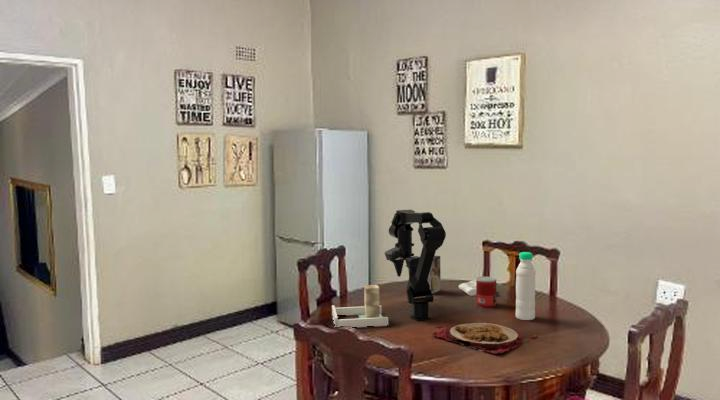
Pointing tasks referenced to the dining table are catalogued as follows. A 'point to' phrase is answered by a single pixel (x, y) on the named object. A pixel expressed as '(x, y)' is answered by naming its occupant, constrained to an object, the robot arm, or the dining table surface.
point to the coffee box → (435, 275)
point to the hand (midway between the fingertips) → (405, 278)
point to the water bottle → (525, 288)
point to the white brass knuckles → (469, 287)
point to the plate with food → (482, 336)
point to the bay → (361, 320)
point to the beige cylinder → (371, 301)
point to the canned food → (486, 291)
